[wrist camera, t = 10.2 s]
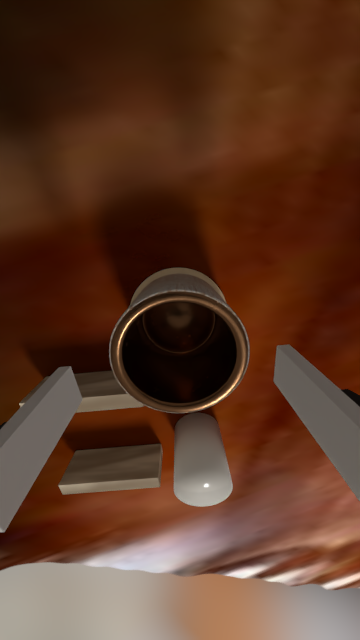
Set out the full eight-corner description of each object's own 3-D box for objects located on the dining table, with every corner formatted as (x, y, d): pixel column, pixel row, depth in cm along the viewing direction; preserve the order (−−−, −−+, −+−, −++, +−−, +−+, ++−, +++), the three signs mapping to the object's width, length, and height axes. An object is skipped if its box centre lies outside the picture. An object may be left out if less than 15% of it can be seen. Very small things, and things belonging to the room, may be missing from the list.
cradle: (46, 376, 27) (18, 403, 22) (147, 367, 27) (140, 392, 22) (79, 459, 33) (62, 494, 28) (162, 452, 32) (160, 486, 28)
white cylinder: (172, 414, 30) (170, 471, 22) (218, 410, 30) (232, 466, 22) (177, 447, 32) (177, 508, 25) (219, 444, 32) (232, 504, 24)
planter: (214, 261, 22) (240, 269, 13) (230, 346, 25) (259, 400, 16) (121, 285, 22) (83, 309, 13) (149, 365, 26) (134, 426, 17)
